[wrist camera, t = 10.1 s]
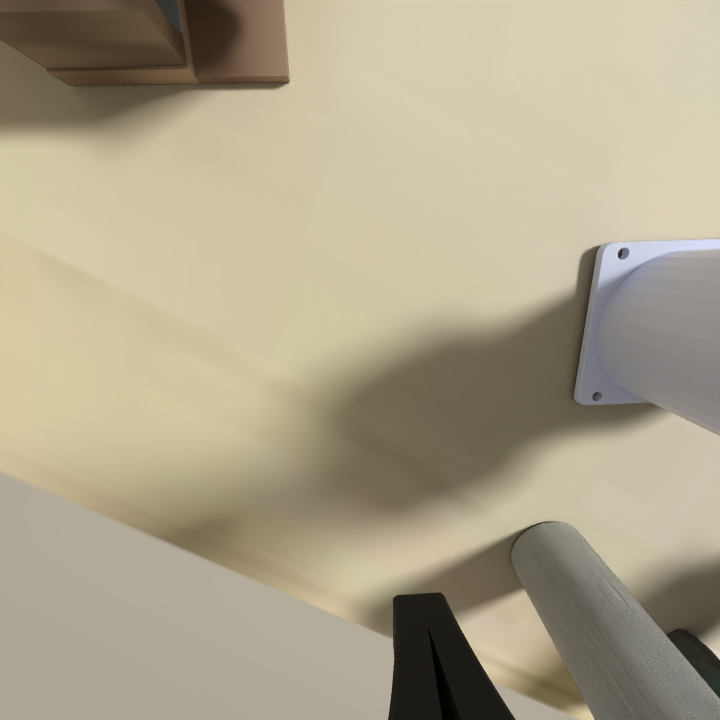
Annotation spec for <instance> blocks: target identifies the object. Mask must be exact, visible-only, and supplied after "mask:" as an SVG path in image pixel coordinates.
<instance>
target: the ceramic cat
mask: <svg viewBox="0 0 720 720" xmlns="http://www.w3.org/2000/svg"><path fill="white" fill-rule="evenodd" d="M666 636H667V637H668V638H669V639H670V641H671V642H672V643H673V644H674V645H675V646H676V648H677V649H678V650H679V651H680V652H681V654H682V655H683V656H684V657H685V658H686V659H687V661H688V662H689V663H690V664H691V665H692V667H693V668H694V669H695V670H696V671H697V673H698V674H699V675H700V676H701V677H702V678H703V680H704V681H705V682H706V683H707V684H708V686H709V687H710V688H711V689H712V690H713V691H714V693H715V694H716V695H717V696H718V697H719V699H720V660H719V659H718V658H717V656H716V655H715V654H714V653H713V652H712V651H711V650H710V649H709V648H708V647H707V646H706V645H704V644H703V643H702V642H701V641H700V640H699V639H697V638H696V637H695V636H693V635H692V634H690V633H689V632H688V631H686V630H677V631H675V632H672V633H669V634H667V635H666Z"/></svg>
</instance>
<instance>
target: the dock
mask: <svg viewBox="0 0 720 720" xmlns="http://www.w3.org/2000/svg"><path fill="white" fill-rule="evenodd" d="M0 40H2V41H3V42H5V43H7V44H8V45H10V46H11V47H13V48H15V49H16V50H18V51H19V52H21V53H23V54H24V55H26V56H27V57H29V58H31V59H32V60H34V61H35V62H37V63H39V64H40V65H42V66H43V67H45V68H47V72H49V73H50V74H52V75H53V76H55V77H57V78H58V79H60V80H62V81H63V82H65V83H66V84H68V85H70V86H97V85H150V84H203V83H255V82H290V81H289V68H288V55H287V43H286V30H285V17H284V4H283V0H0Z"/></svg>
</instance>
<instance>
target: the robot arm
mask: <svg viewBox="0 0 720 720" xmlns="http://www.w3.org/2000/svg"><path fill="white" fill-rule="evenodd" d="M620 249H622V256H621V257H620V258H618V252H619V250H620ZM595 392H597V395H596V396H595V397H594V398H592V396H593V394H594V393H595ZM574 399H575V400H576V401H577V402H578V403H580V404H581V405H606V404H627V403H647V402H651V403H653V404H655V405H657V406H659V407H661V408H663V409H665V410H667V411H669V412H671V413H674V414H676V415H678V416H680V417H682V418H684V419H686V420H688V421H690V422H692V423H694V424H696V425H698V426H700V427H702V428H705V429H707V430H709V431H711V432H713V433H715V434H717V435H719V436H720V239H697V240H667V241H638V242H610V243H605V244H603V245H602V246H601V247H600V248H599V249H598V252H597V255H596V261H595V267H594V273H593V279H592V286H591V292H590V298H589V304H588V311H587V317H586V323H585V329H584V336H583V342H582V348H581V354H580V360H579V367H578V373H577V379H576V385H575V392H574ZM393 647H394V658H395V659H394V671H393V684H392V694H391V703H390V710H389V718H388V720H515V718H514V717H513V715H512V714H511V712H510V711H509V709H508V707H507V706H506V704H505V703H504V701H503V700H502V698H501V696H500V695H499V693H498V692H497V690H496V689H495V687H494V685H493V684H492V682H491V680H490V679H489V677H488V675H487V674H486V672H485V670H484V669H483V667H482V666H481V664H480V662H479V661H478V659H477V657H476V655H475V654H474V652H473V650H472V648H471V647H470V645H469V643H468V641H467V639H466V638H465V636H464V634H463V632H462V630H461V629H460V627H459V625H458V623H457V621H456V619H455V617H454V615H453V613H452V611H451V609H450V607H449V605H448V603H447V601H446V599H445V596H444V595H443V594H442V593H425V594H409V595H397V596H396V597H394V598H393Z"/></svg>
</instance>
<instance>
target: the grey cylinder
mask: <svg viewBox="0 0 720 720" xmlns="http://www.w3.org/2000/svg"><path fill="white" fill-rule="evenodd" d="M511 562H512V565H513V567H514V569H515V571H516V574H517V576H518V577H519V579H520V581H521V583H522V585H523V587H524V589H525V590H526V592H527V594H528V596H529V598H530V600H531V602H532V604H533V605H534V607H535V609H536V611H537V613H538V615H539V617H540V618H541V620H542V622H543V624H544V626H545V628H546V630H547V631H548V633H549V635H550V637H551V639H552V641H553V643H554V644H555V646H556V648H557V650H558V652H559V654H560V656H561V657H562V659H563V661H564V663H565V665H566V667H567V669H568V670H569V672H570V674H571V676H572V678H573V680H574V682H575V683H576V685H577V687H578V689H579V691H580V693H581V695H582V697H583V698H584V700H585V702H586V704H587V706H588V708H589V710H590V711H591V713H592V715H593V717H594V719H595V720H720V699H719V697H718V696H717V695H716V694H715V693H714V691H713V690H712V689H711V688H710V687H709V686H708V684H707V683H706V682H705V681H704V680H703V678H702V677H701V676H700V675H699V674H698V673H697V671H696V670H695V669H694V668H693V667H692V665H691V664H690V663H689V662H688V661H687V659H686V658H685V657H684V656H683V655H682V654H681V652H680V651H679V650H678V649H677V648H676V646H675V645H674V644H673V643H672V642H671V641H670V639H669V638H668V637H667V636H666V635H665V633H664V632H663V631H662V630H661V629H660V627H659V626H658V625H657V624H656V623H655V622H654V620H653V619H652V618H651V617H650V616H649V614H648V613H647V612H646V611H645V610H644V609H643V607H642V606H641V605H640V604H639V603H638V601H637V600H636V599H635V598H634V597H633V595H632V594H631V593H630V592H629V591H628V590H627V588H626V587H625V586H624V585H623V584H622V582H621V581H620V580H619V579H618V578H617V577H616V575H615V574H614V573H613V572H612V571H611V569H610V568H609V567H608V566H607V565H606V563H605V562H604V561H603V560H602V559H601V558H600V556H599V555H598V554H597V553H596V552H595V550H594V549H593V548H592V547H591V546H590V544H589V543H588V542H587V541H586V540H585V539H584V537H583V536H582V535H581V534H580V533H579V532H578V531H577V530H576V529H575V528H573V527H572V526H570V525H568V524H565V523H560V522H547V523H542V524H539V525H536V526H534V527H532V528H530V529H528V530H527V531H525V532H524V533H523V534H522V535H521V536H520V537H519V538H518V539H517V541H516V542H515V544H514V546H513V548H512V552H511Z"/></svg>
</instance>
